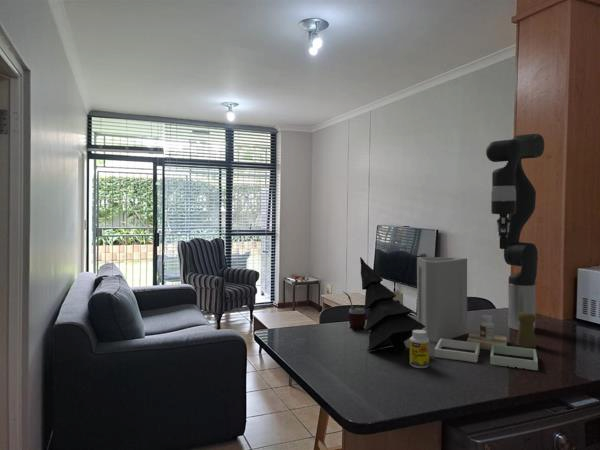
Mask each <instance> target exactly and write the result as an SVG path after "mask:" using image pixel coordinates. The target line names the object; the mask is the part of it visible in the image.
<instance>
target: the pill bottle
mask: <svg viewBox="0 0 600 450" xmlns="http://www.w3.org/2000/svg"><path fill="white" fill-rule="evenodd" d="M493 319H494V318H493V316H492V315H489V314H482V315H481V321H480V323H479V333H480V338H481V339H484V340H493V339H494V335H495V324H494V322H493Z"/></svg>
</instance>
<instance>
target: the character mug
mask: <svg viewBox="0 0 600 450" xmlns="http://www.w3.org/2000/svg"><path fill="white" fill-rule="evenodd" d="M391 291H392V290H391ZM392 292H393V293H394V294H395V295H396V297H394V298H393V300H395V301H397V302H398V303H400V304H402V305H404V293H403V292H401V291H397V290H396V291H395V290H394V291H392Z"/></svg>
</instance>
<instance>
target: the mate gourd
mask: <svg viewBox="0 0 600 450" xmlns="http://www.w3.org/2000/svg"><path fill="white" fill-rule="evenodd" d="M343 293H344V294H345V295H346V296H347V298H348V300H349V302H350V305H351V307H350V308H349V310H348V314H347V318H348V321H349V325H350V326H349V328H350V329H352V331H354V332H355V331H357V330H361V331H364V329H365V326H366V322H367V311H366V309H365V307H359V306H353V303H352V298H351V296H350V295H349V294H348V293H347V292H345V291H343Z"/></svg>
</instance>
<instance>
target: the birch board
mask: <svg viewBox="0 0 600 450" xmlns="http://www.w3.org/2000/svg"><path fill="white" fill-rule="evenodd" d="M507 338H508V337H507V335H498V334H494V339H493V340H484V339H481V338H480V332H469V334H468V336H467V340H466V341H467V342H476V343H480V350H484V351H485V350H486V351H491V347H492V344H493V345H502V346H508V341H507V340H508V339H507Z"/></svg>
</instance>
